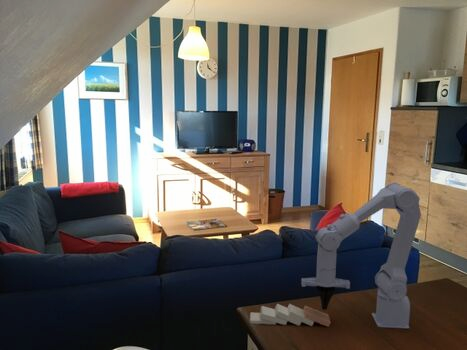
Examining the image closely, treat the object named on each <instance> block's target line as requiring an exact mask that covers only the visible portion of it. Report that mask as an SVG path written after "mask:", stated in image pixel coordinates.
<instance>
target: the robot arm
mask: <svg viewBox="0 0 467 350" xmlns="http://www.w3.org/2000/svg"><path fill="white" fill-rule="evenodd" d="M420 200H421V198H420V196H419V195H418V194H417V193H416V192H415V190H413V189H412V188H408V187H405V186H403V185H401V184H399V183H397V182H391V183H388V184H387V185H386V186H385V187H383V188H381V189H379V190H378V192H377V194H375V195H374V196H373V197H372V198H371V199H369V200H368V201H366V202H365V203H364V204H363V205H362V206H360V207H359V208H358V209H357V210H356V211H354V212H352V213H350V212H346V213H345V214H344V213H342V214H340V215H339V218H337V220H335V221H333V222H332V223H331V224H330V223H329V224H327V225H326V227H322V228H319V230H318V231H317V233H316V235H315V240H316V242H317V251H316V252H317V256H316V277H315V276H314V277H305V278H304V277H302V278H301V283H300V284H301V287H302V288H303V287H316V290H317V294H318V295H319V298H320V305H321V310H322V311H323V310H324V311H327V309H328V306H329V304H330V301H331V299H332V297H333V296H334V294H335V292H336V290H335V288H345V289H348V290H349V289H350V288H351V282H350V280H349V279H348V280H347V279H342V278H337V277H336V269H337V268H336V267H337V249H339V247H340V245H341V243H342V242H343V240H344V239H346V238H347V237H349V236H350V235H352V234H353V233H354V232H356V231H357V230H359V228H360V226H361V225H360V224H361V223H362V222H364V221H365V220H367V219H369V218H370V217H372V216H373V215H375V214H376V213H379V211H381V210H383V209H388V210H389V209H390V210H396V212H397V213H398V214H399V221H398V223H397V226H396V231H395V232H394V237H393V240H392V243H391V246H390V250H389V252H388V253H389V254H388V257H387V261H386V262H385V263H384V264H382V265H381V266H380V270H379V271H378V272H377V273H376V274H375V276H374V281H375V282H374V283H375V285H376V286H377V292H376V294H377V295H376V296H377V297H376V310H375V312H372V313H371V315H372V318H373V320H374V322H375V324H376V325H377V328H388V329H389V328H391V329H410V326H409V325H410V316H411V315H410V313H411V304H410V303H411V302H410V299H409V297H408V296H407V295H406V294H407V292H408V288H407V281H408V277H407V274H406V266H407V262H408V260H409V256H410V252H411V250H412V246H413V243H414V240H415V236H416V233H417V230H418V226H419V224H420V220H421V216H422V213H421V207H420Z"/></svg>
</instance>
